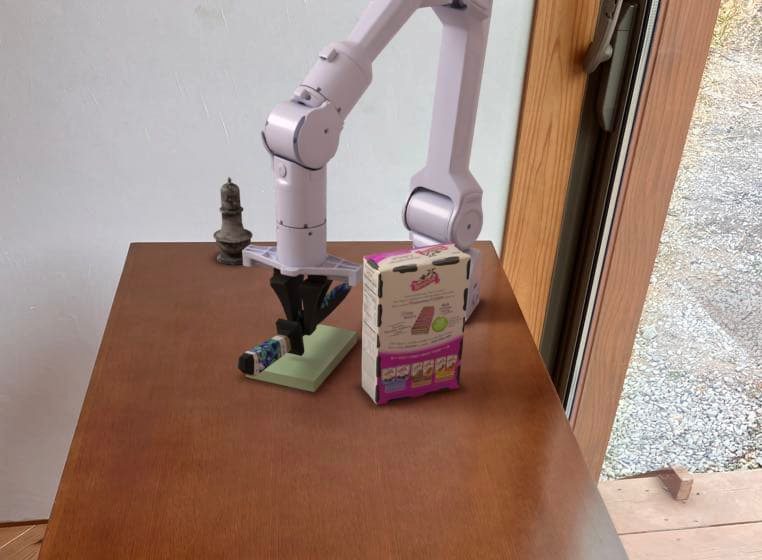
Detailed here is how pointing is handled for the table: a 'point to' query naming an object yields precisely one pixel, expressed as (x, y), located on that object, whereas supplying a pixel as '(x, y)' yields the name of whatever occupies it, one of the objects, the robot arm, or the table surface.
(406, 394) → the candy bar box
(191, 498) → the table surface
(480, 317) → the table surface
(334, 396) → the table surface
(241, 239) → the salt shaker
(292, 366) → the cutting board
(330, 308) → the knife
